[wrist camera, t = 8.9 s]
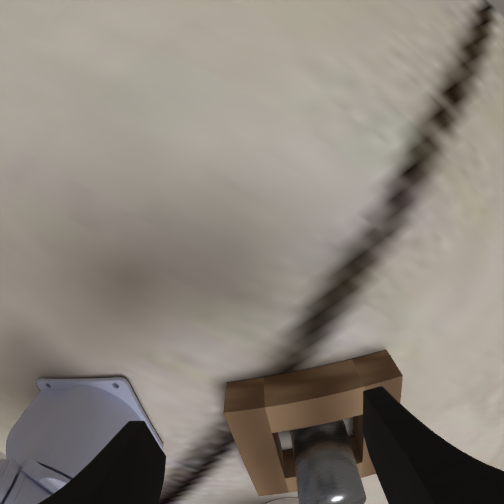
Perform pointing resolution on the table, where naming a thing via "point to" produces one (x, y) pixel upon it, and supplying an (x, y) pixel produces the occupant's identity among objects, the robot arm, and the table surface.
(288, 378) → the square wooden ring
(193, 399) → the table surface
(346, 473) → the round peg
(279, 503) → the foam cup
